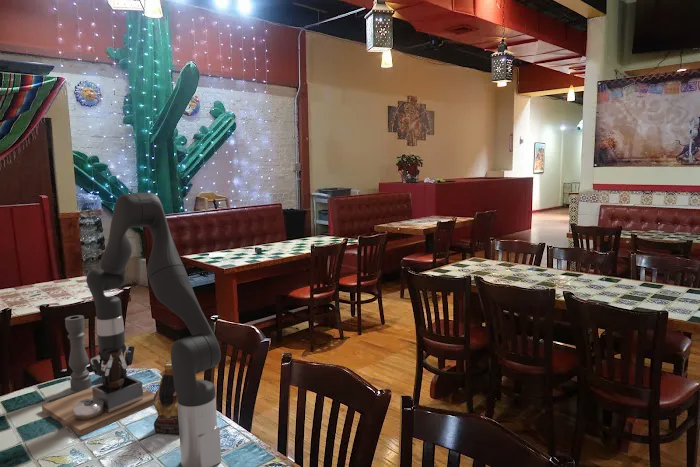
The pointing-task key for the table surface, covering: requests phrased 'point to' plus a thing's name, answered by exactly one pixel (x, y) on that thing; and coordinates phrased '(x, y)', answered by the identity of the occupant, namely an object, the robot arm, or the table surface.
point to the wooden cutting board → (65, 415)
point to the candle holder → (77, 354)
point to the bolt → (115, 371)
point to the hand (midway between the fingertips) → (115, 382)
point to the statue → (166, 404)
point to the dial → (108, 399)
